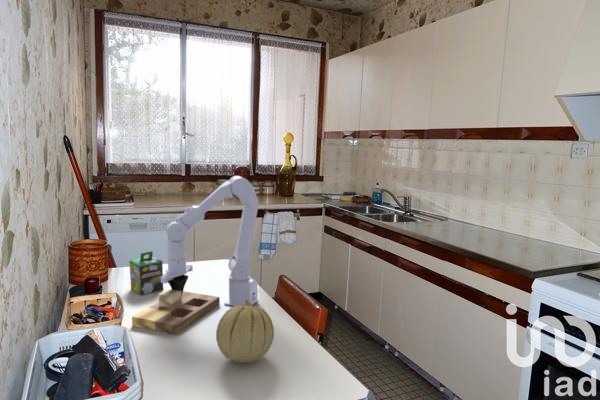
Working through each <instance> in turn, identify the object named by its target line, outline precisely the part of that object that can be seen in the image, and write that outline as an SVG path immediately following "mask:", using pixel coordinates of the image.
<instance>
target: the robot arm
mask: <svg viewBox="0 0 600 400" xmlns="http://www.w3.org/2000/svg"><path fill="white" fill-rule="evenodd" d="M233 194H234V195H235V196H236V197H238V199H239V201H240V202H241V203H242V212H241V217H240V223H239V228H238V233H237V238H236V244H235V249H234V251H233V254H232V256H231V258H230V259H229V260H228V266H227V267H228V270H230V272H231V273H230V274H229V276H228V300H226V301H225V302H224V303H223V304H224V305H226V306H231V307H234V306H238V305H246V304H247V303H246V301H249V302H250V303H251V305H253V306H254V304H256V303H257V302H258V301H259V299H258V281H257V280H256V279H253V278H251V276H250V275H251V272H252V271H251V267H250V263H251V258H250V257H251V256H250V255H251V254H250V253H251V246H252V241H253V236H254V231H255V226H256V225H255V224H256V221H257V215H258V210H259V205H260V202H259V199H258V196H257V194H256V191H255V189H254V186H253V184H252V183H251V182H250V181H249V180H248V179H246V177H243V176H240V175H233V176H231V177H230V178H229V179H228V180H226V181H225V182H223V183H222V184H221V185H220V186H219V187H217V188H216V189H215V190H214V191H213V192H212V193H211V194H210V195H208V196H207V197H206V198H205V199H204V200H203V201H202V202H201V203H200V204H198V205H191V206H187V207H186V208H185V210H186V211H184V212H183V213H182V214H181V215H179V217H178V216H176V217H175V218H174V220H173V221H172V222H170V223H169V224H168V225H167V228H166V234H167V265H168V266H167V267H168V268H167V269H166V270H165V273H163V276H162V277H161V283H163V284H169V286H170V289H171V290H177V291H181V297H182V293H183V291H184V289H185V286H186V283H187V281H188V279H189V275H187V274H188V272H193V270H194V269H193V265H192V264H187V251H186V250H187V249H186V248H187V247H186V245H187V244H186V243H185V242H186V241H185V239H186V236H187V233H189V232H190V231H191V230H193V229H194V228H195V227H196V226H197V225H199V223H201V222H202V221H203V220H205V213H207V212H208V211H209V210H211V209H212V208H213V207H214V206H215V205H217V204H218V203H219V202H221V201H222V200H223V199H229V198H234V195H233Z"/></svg>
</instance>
